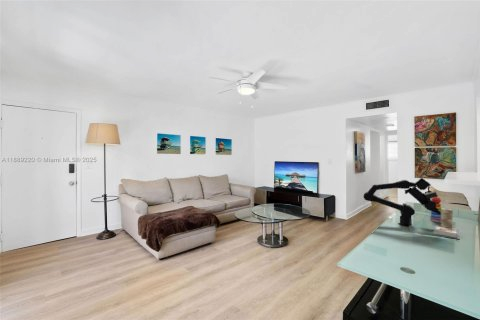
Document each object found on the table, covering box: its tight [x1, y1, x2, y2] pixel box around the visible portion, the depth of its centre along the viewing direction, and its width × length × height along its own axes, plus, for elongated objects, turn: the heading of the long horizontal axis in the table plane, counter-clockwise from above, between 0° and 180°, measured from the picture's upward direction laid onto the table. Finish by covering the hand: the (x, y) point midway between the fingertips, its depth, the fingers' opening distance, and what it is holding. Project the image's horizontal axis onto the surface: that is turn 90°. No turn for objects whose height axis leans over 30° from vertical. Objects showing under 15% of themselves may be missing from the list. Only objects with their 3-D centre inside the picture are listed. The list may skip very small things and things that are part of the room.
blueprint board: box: [432, 224, 461, 241], centre depth 139 cm, size 24×12×4 cm, turn 136°
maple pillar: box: [440, 207, 454, 229], centre depth 144 cm, size 5×5×13 cm
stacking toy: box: [429, 196, 442, 223], centre depth 162 cm, size 8×8×19 cm
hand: (438, 212), depth 146 cm, fingers open, 9 cm apart
